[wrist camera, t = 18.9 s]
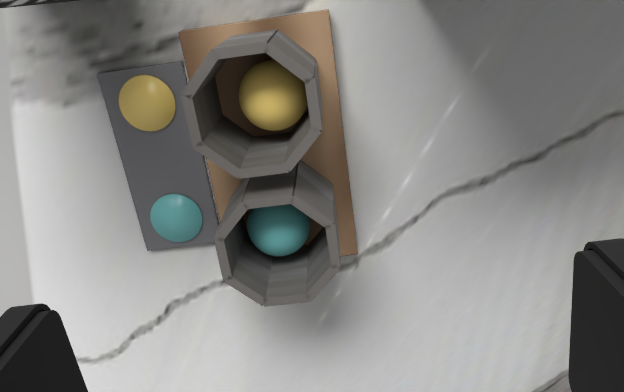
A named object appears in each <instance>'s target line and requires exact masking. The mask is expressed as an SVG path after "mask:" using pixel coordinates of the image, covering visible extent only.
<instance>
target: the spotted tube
mask: <svg viewBox="0 0 624 392" xmlns="http://www.w3.org/2000/svg"><path fill="white" fill-rule="evenodd" d="M67 1H77V0H0V8H7V7H17V6H27V5H37V4H47V3H57V2H67Z"/></svg>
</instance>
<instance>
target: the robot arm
mask: <svg viewBox="0 0 624 392" xmlns="http://www.w3.org/2000/svg"><path fill="white" fill-rule="evenodd" d="M569 383H570V387H571V391H572V392H624V239H612V240H603V241H594V242H588V243H587V244H586V245H585V247H584V251H580V252H577V253H576V254H575V257H574V269H573V291H572V312H571V334H570V355H569ZM0 392H88V390H87V388H86V385H85V382H84V380H83V377H82V374H81V371H80V369H79V366H78V363H77V361H76V358H75V355H74V352H73V350H72V347H71V344H70V342H69V339H68V336H67V334H66V331H65V328H64V325H63V323H62V320H61V317H60V315H59V314H58V313H57V312H56V311H54V310H50V308H49V307H48V306H47V305H45V304H34V305H26V306H17V307H11V308H9V309H8V310H7V311H6V312H5V313H4V314H3V315H2V316H1V317H0Z"/></svg>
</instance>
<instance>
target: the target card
mask: <svg viewBox="0 0 624 392" xmlns="http://www.w3.org/2000/svg"><path fill="white" fill-rule="evenodd" d="M97 75H98V78H99V82H100V85H101V89H102V92H103V96H104V100H105V103H106V107H107V110H108V114H109V117H110V121H111V124H112V128H113V131H114V135H115V138H116V142H117V145H118V149H119V152H120V156H121V160H122V163H123V167H124V170H125V174H126V177H127V181H128V184H129V188H130V191H131V195H132V198H133V202H134V205H135V209H136V212H137V216H138V220H139V223H140V227H141V230H142V234H143V237H144V241H145V244H146V248H147V251H149V250H158V249H166V248H175V247H183V246H192V245H200V244H209V243H215V242H214V236H215V234H216V231H217V229H218V226H219V223H218V218H217V214H216V209H215V205H214V200H213V196H212V192H211V187H210V183H209V178H208V174H207V169H206V165H205V160H204V156H203V155H202V154H201V153H199V152H198V151H196V150H195V149H194V148H195V147H193V146H192V142H191V138H190V133H189V129H188V125H187V120H186V116H185V111H184V107H183V103H182V98H181V96H182V92H183V91H184V89H185V88H186V86H187V85H188V84H187V80H186V75H185V71H184V66H183V62H182V61H180V62H173V63H166V64H159V65H152V66H145V67H138V68H131V69H124V70H117V71H109V72H102V73H98V74H97Z"/></svg>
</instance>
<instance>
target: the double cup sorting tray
mask: <svg viewBox="0 0 624 392" xmlns="http://www.w3.org/2000/svg"><path fill="white" fill-rule="evenodd" d="M179 36H180V41H181V45H182V50H183V55H184V59H185V64H186V68H187V73H188V77H189V83H188V85H187V86H186V88H185V89H184V91H183V92H182V96H181V98H182V103H183V107H184V111H185V116H186V120H187V125H188V129H189V133H190V138H191V142H192V146H193V147H195V148H194V149H195V150H196V151H198V152H199V153H201V154H202V155H203V156H205V157H206V158H207V163H208V167H209V172H210V176H211V181H212V185H213V190H214V194H215V199H216V203H217V208H218V212H219V217H220V221H221V222H220V224H219V226H218V229H217V231H216V234H215V236H214V242H215V246H216V251H217V255H218V259H219V264H220V268H221V272H222V277H223V280H225V282H226V283H227V284H229V285H230V286H232V287H233V288H235V289H237V290H238V291H240V292H241V293H243V294H244V295H246V296H248V297H249V298H251V299H252V300H254V301H255V302H257V303H258V304H260V305H262V306H263V305H264V306H274V305H283V304H292V303H301V302H310V300H311V301H312V300H313V299H314V297H315V296H316V295H317V294H318V293H319V292H320V291H321V290H322V288H323V287H324V286H325V285H326V284H327V283H328V282H329V281H330V280H331V278H332V277H333V276H334V275H335V274H336V273H337V272H338V271H339V269H340V267H341V264H340V256H345V255H354V254H358V251H357V243H356V235H355V226H354V218H353V210H352V202H351V193H350V185H349V177H348V169H347V160H346V152H345V144H344V135H343V127H342V119H341V111H340V102H339V94H338V86H337V78H336V69H335V61H334V53H333V45H332V36H331V28H330V20H329V12H328V10H321V11H314V12H307V13H300V14H293V15H286V16H280V17H273V18H266V19H259V20H252V21H245V22H238V23H231V24H225V25H218V26H211V27H204V28H197V29H190V30H183V31H180V32H179ZM267 60H276V61H277V62H279V63H280V64H281V65H282V66H284V67H285V68H286V69H288V70H289V71H290V72H292V73H293V74H294V75H296V76H297V77H298V78H300V79H301V80H302V81H304V82H305V88H306V95H307V102H308V103H307V107H306V110H305V112H304V114H303V115H302V117H301V118H300V119H299V120H298V121H297V122H296V123H295V124H293V125H292V126H290V127H288V128H286V129H283V130H278V131H271V130H265V129H262V128H259V127H257V126H256V125H254V124H253V123H251V122H250V121H249V120H248V119H247V117H246V116H245V115H244V113H243V111H242V109H241V106H240V103H239V87H240V83H241V81H242V79H243V77H244V75H245V74H246V73H247V71H248V70H249V69H250V68H252V67H253V66H254V65H256V64H258V63H260V62H263V61H267ZM286 204H292V205H293V206H295V207H296V208H297V209H299V210H300V211H302V212H303V213H305V214H306V215H307V216H309V217H310V232H309V235H308V238H307V240H306V242H305V243H304V244H303V246H302V247H301V248H300V249H298V250H297V251H295V252H294V253H292V254H289V255H286V256H272V255H268V254H266V253H264V252H262V251H260V250H259V249H258V248H257V247H256V246H255V245H254V244H253V242H252V241H251V239H250V237H249V234H248V229H247V220H248V215H249V213H250V210H251V209H253V208H261V207H270V206H278V205H286Z"/></svg>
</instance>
